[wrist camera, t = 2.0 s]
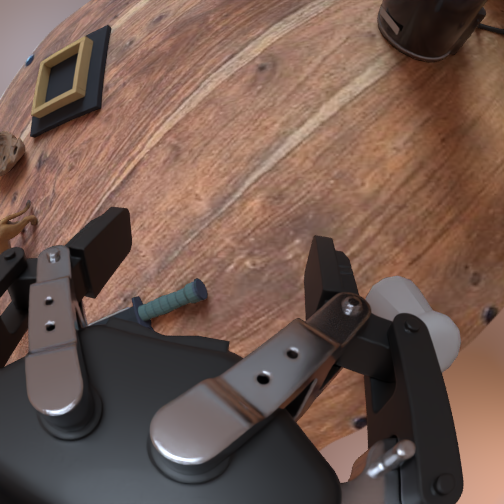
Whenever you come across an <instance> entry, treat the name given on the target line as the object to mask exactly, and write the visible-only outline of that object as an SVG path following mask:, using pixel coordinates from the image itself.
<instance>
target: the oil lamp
mask: <svg viewBox="0 0 504 504" xmlns="http://www.w3.org/2000/svg"><path fill="white" fill-rule="evenodd" d="M24 152H25V145H24V144H23V142H22V140H21V139H20V138H18V140H17V138H16V137H15V136H14V135H13V134H11V133H10V132H7V131H2V132H0V176H2V175H4V174H6V173H7V172H9V171H10V170H11V169H12V168H13V166H14V165H15V164H16V163H17V161H18V160H19V159H20V158H21V157H22V156H23V154H24Z"/></svg>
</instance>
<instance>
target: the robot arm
mask: <svg viewBox="0 0 504 504" xmlns="http://www.w3.org/2000/svg"><path fill="white" fill-rule="evenodd" d="M486 2H487V0H383V1H382V4H381V7H380V10H379V13H378V18H377V21H378V26H379V29H380V31H381V33H382V34H383V36H384V37H385V38H386V39H387V41H388V42H389V43H390V44H391V45H393V46H394V47H395V48H396V49H398V50H399V51H401V52H402V53H404V54H406V55H408V56H410V57H412V58H414V59H417V60H421V61H426V62H436V61H440V60H443V59H444V58H446V57H447V56H448V54H451V55H455V54H456V53H457V52H458V50H459V49H460V48H461V47H462V45H463V44H464V43H465V42H466V40H467V39H468V38H469V37H470V36H471V34H472V33H473V32H474V31H475V29H476V28H477V27H478V28H481V29H485V30H489V31H492V32H496V33H501V34H504V29H499V28H495V27H491V26H487V25H484V24H481V23H480V22H481V21H482V20H483V19H484V17H485V16H486V11H485V9H484V7H483V6H484V4H485V3H486ZM131 246H132V235H131V224H130V213H129V210H128V209H127V208H119V207H111V208H109V209H108V210H107V211H106V212H105V213H104V214H103V215H102V216H100V217H98V218H96V219H94V220H92V221H90V222H89V223H88V224H87V225H86V226H85V228H83V229H82V230H80V232H78V233H77V234H76V235H75V236H74V237H73V238H72V239H71V240H70V241H69V242H68V243H67V244H66V245H65V246H62V245H56V246H52V247H49V248H47V249H45V250H43V251H42V252H41V253H40V254H39V256H38V258H29V259H26V256H25V253H24V250H23V249H22V248H20V247H14V248H10V249H7V250H6V251H4V252H2V253H1V254H0V297H1V296H2V295H3V294H4V293H5V291H6V290H8V292H9V294H10V297H11V299H12V302H11V303H10V304H9V306H8V307H7V308H6V309H5V311H4V312H3V313H2V315H1V316H0V504H456V502H457V501H458V500H459V498H460V497H461V494H462V491H463V474H462V467H461V461H460V454H459V447H458V442H457V436H456V431H455V426H454V421H453V416H452V412H451V408H450V403H449V399H448V395H447V391H446V387H445V383H444V379H443V376H442V372H441V368H440V365H439V362H438V358H437V355H436V352H435V348H434V345H433V342H432V339H431V336H430V333H429V330H428V327H427V326H426V324H425V323H424V322H423V321H422V320H421V319H420V318H419V317H417V316H415V315H413V314H410V313H400V314H397V315H396V316H395V317H394V319H393V321H390V320H387V319H384V318H382V317H379V316H376V315H374V314H373V313H371V306H370V304H369V303H368V302H367V301H366V300H365V299H364V298H363V297H361V296H359V293H358V289H357V285H356V282H355V278H354V275H353V271H352V269H351V264H350V260H349V259H348V257H347V256H346V255H345V254H344V253H343V252H341V251H335V248H334V243H333V239H332V238H328V237H322V236H316V235H314V237H313V240H312V244H311V248H310V252H309V256H308V260H307V264H306V269H305V275H304V289H305V311H306V321H303V320H302V319H300V318H297V319H295V320H293V321H292V322H291V323H289V324H288V325H287V326H286V327H284V328H283V329H282V330H280V331H279V332H278V333H277V334H275V335H274V336H273V337H271V338H270V339H269V340H267V341H266V342H265V343H264V344H262V345H261V346H260V347H258V348H257V349H256V350H254V351H253V352H252V353H250V354H249V355H248V356H246V357H245V358H242V357H241V356H239V355H237V354H235V353H233V352H230V351H229V341H224V340H218V339H213V338H207V337H202V336H165V335H161V334H159V333H157V332H155V331H153V330H151V329H149V328H147V327H145V326H142V325H140V324H138V323H136V322H132V321H128V320H124V319H120V318H116V317H112V316H110V318H109V320H108V321H107V323H106V324H100V325H92V326H88V325H87V320H86V314H85V309H84V304H83V300H82V299H83V297H84V296H86V297H90V298H94V299H95V298H96V297H97V295H98V294H99V293H100V291H101V290H102V288H103V287H104V286H105V284H106V283H107V281H108V280H109V279H110V277H111V276H112V275H113V273H114V272H115V271H116V269H117V268H118V267H119V265H120V264H121V263H122V261H123V260H124V259H125V257H126V256H127V255H128V254H129V252H130V250H131ZM27 329H28V340H29V352H28V354H26V356H25V357H23V358H21V359H19V360H17V361H15V362H13V363H11V364H9V365H7V366H5V364H6V363H7V361H8V359H9V358H10V356H11V354H12V353H13V351H14V350H15V348H16V346H17V345H18V343H19V342H20V340H21V338H22V337H23V335H24V334H25V332H26V331H27ZM4 366H5V367H4ZM343 367H344V368H346V369H349V370H352V371H355V372H358V373H360V374H363V375H364V383H365V395H366V410H367V430H368V450H367V451H366V452H365V453H364V454H363V455H361V456H360V457H359V458H358V459H357V460H356V461H355V463H354V464H353V467H352V472H351V476H350V479H349V480H348V482H345V483H340V481H339V479H338V477H337V475H336V473H335V471H334V470H333V468H332V467H331V466H330V465H329V463H328V462H327V461H326V460H325V458H324V457H323V456H322V455H321V453H320V452H319V451H318V450H317V448H316V447H315V446H314V445H313V443H312V442H311V441H310V440H309V438H308V437H307V436H306V434H305V433H304V432H303V431H302V429H301V428H300V427H299V425H298V424H297V423H296V422H297V421H298V420H299V419H300V418H301V417H302V416H303V415H304V413H305V412H306V411H307V410H308V409H309V407H310V406H311V404H312V403H313V402H314V400H315V399H316V398H317V397H318V396H319V395H320V394H321V393H322V391H323V390H324V389H325V388H326V387H327V386H328V385H329V384H330V382H331V381H332V380H333V379H334V378H335V377H336V376H337V374H338V373H339V372H340V371H341V370H342V369H343Z"/></svg>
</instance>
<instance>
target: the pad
mask: <svg viewBox="0 0 504 504" xmlns="http://www.w3.org/2000/svg"><path fill="white" fill-rule="evenodd" d="M110 32H111V27H109V26H108V25H107V26H105V27H103V28H100V29H98V30H96V31H94V32H92V33H90V34H88V35H87V36H84V37H83V38H81V39H79V40H77V41H75V42H73V43H72V44H70V45H68V46H66V47H65V48H63V49H61V50H59V51H58V52H56V53H54V54H53V55H51V56H50V57H48V58H46V59H45V60H43V61H42V62H41V64H40V68H39V73H38V78H37V82H36V88H35V93H34V99H33V105H32V112H31V116H33V117H32V125H31V134H30V136H31V137H36V136H38V135H40V134H42V133H44V132H47V131H49V130H51V129H53V128H55V127H57V126H59V125H61V124H64V123H66V122H68V121H70V120H73V119H75V118H77V117H80V116H82V115H85V114H87V113H90V112H92V111H95V110H97V109H100V108H101V100H102V89H103V80H104V71H105V63H106V56H107V50H108V43H109V37H110Z"/></svg>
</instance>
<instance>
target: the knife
mask: <svg viewBox="0 0 504 504" xmlns="http://www.w3.org/2000/svg"><path fill="white" fill-rule="evenodd" d="M206 298H207V290H206V287H205V285H204V284H203V282H202V281H201V280H199V279H197V278H196V279H195V280H194V282H191V283H189V284H187V285H186V286H185V287H184V288H183V289H181V290H178V291H177V292H173V293H170V294H168V295H164V296H161V297H159V298H157V299H155V300H154V301H151V302H149V303H147V304H144V305H143V303H142V301H141V299H140V297H139V296H138V297H134V298H132V303H133V307H131V308H129V307H127V308H125V309H123V310H120V311H118V312H116V313H113V314H111V315H109V316H107V317H104V318H102V319H100V320H98V321H95V322H93V323H91V324H89V325H88V326H92V325H100V324H106V323H107V321H108V320H109V318H110V316H112V317H116V318H120V319H124V320H128V321H132V322H136V323H138V324H140V325H142V326H145V327H147V328H149V329H151V330H153V328H152V327H151V320H150V319H152V318H155V317H158V316H159V315H163V314H166V313H169V312H171V311H172V310H174V309H177V308H179V307H181V306H182V305H185V304H188V303H196V302H199V301H201V300H205V299H206ZM153 331H154V330H153Z"/></svg>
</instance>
